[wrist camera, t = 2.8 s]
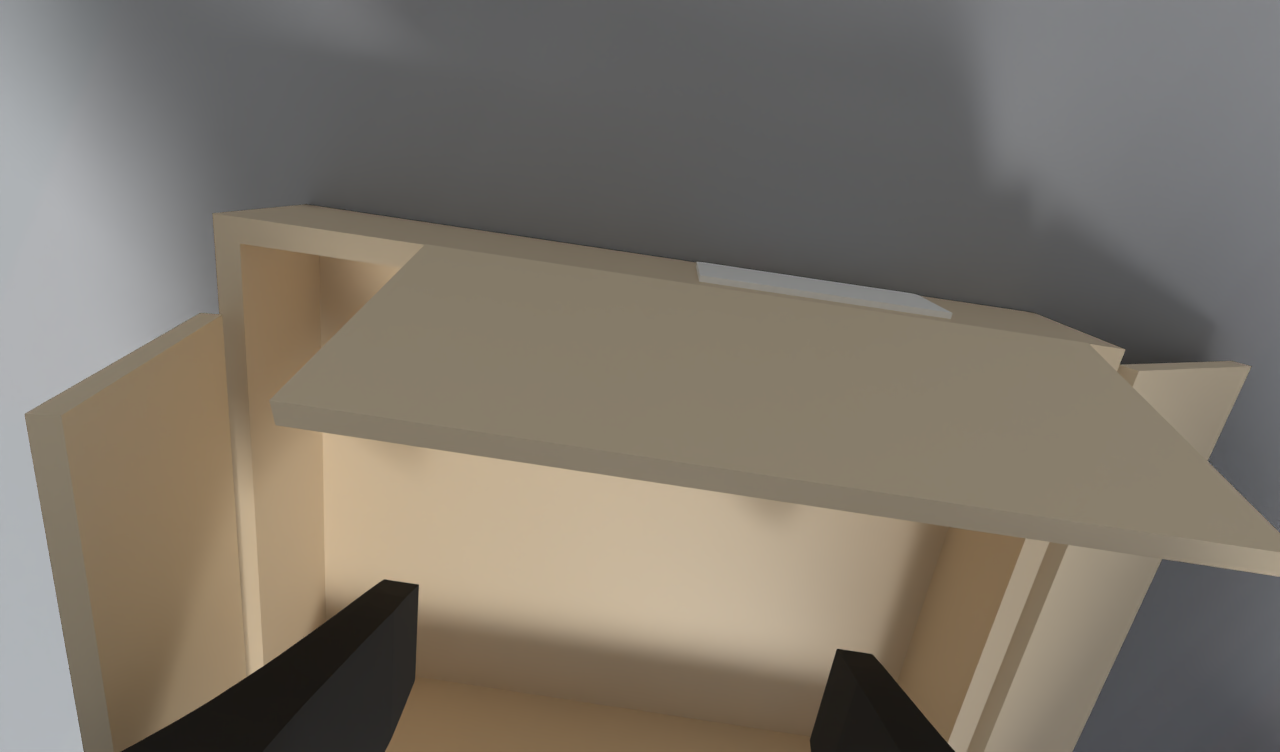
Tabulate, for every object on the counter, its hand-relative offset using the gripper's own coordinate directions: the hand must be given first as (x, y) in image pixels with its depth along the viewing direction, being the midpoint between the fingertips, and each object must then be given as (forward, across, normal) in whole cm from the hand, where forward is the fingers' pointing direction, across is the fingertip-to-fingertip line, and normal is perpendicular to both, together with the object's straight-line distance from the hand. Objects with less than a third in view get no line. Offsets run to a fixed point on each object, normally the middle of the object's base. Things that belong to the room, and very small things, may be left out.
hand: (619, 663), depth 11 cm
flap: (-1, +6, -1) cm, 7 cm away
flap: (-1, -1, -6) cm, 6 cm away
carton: (+3, -2, +1) cm, 4 cm away
